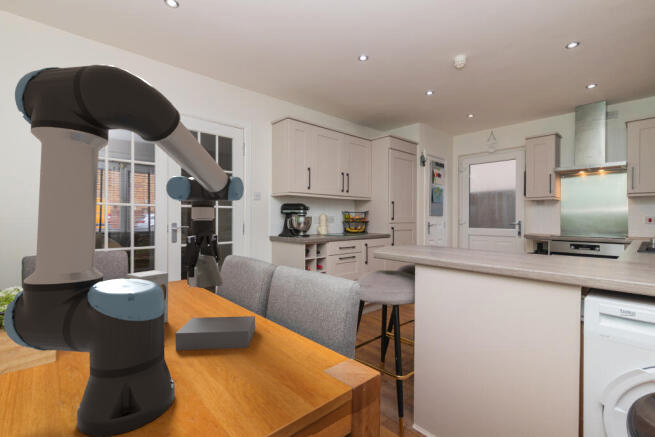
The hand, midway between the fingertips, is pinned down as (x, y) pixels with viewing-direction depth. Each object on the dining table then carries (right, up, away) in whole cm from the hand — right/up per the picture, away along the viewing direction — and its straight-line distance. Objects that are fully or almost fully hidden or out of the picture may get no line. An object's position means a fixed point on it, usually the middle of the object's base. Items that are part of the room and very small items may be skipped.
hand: (202, 283), depth 105 cm
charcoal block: (+12, -13, -19) cm, 26 cm away
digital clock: (+1, -1, 0) cm, 1 cm away
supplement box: (-16, -12, -5) cm, 21 cm away
